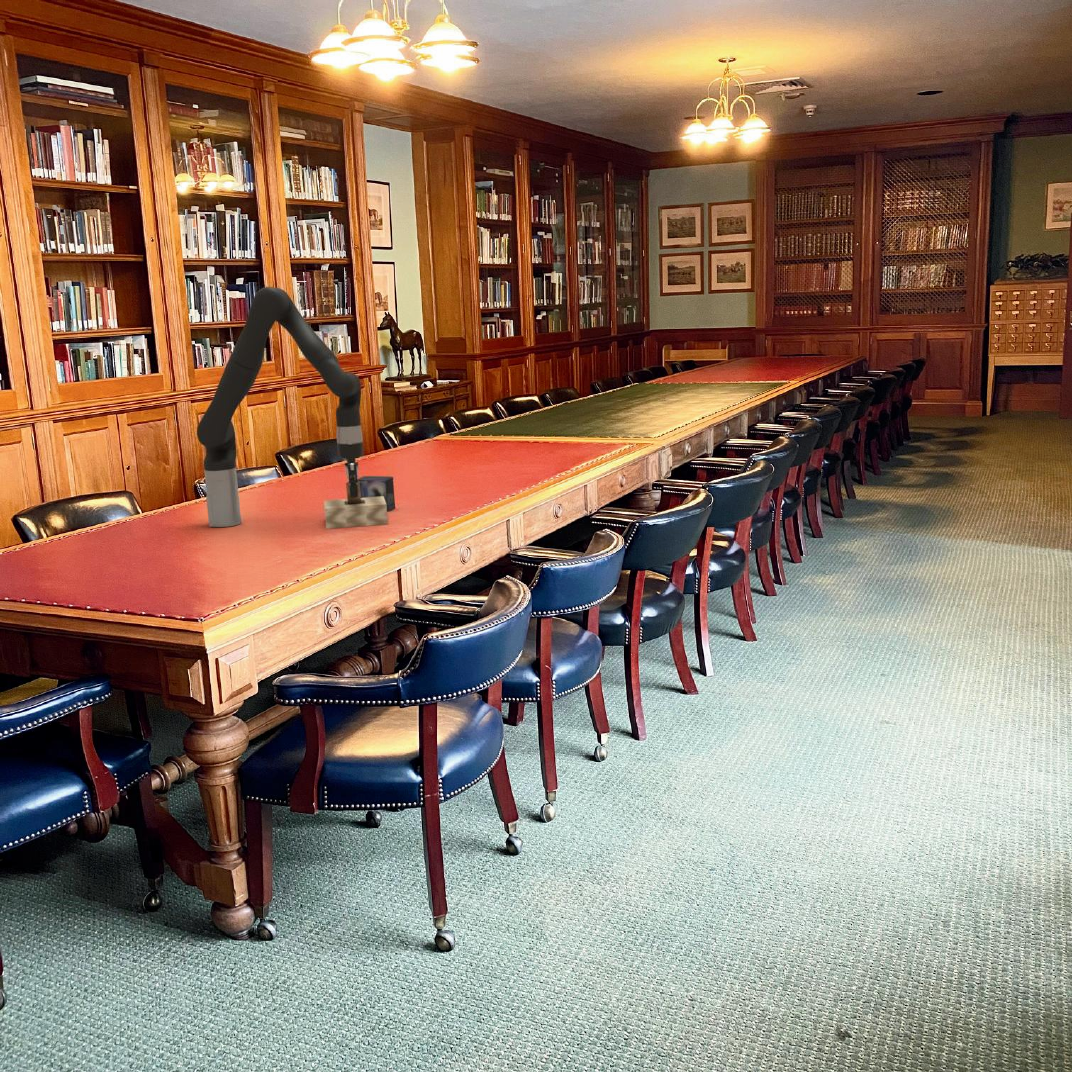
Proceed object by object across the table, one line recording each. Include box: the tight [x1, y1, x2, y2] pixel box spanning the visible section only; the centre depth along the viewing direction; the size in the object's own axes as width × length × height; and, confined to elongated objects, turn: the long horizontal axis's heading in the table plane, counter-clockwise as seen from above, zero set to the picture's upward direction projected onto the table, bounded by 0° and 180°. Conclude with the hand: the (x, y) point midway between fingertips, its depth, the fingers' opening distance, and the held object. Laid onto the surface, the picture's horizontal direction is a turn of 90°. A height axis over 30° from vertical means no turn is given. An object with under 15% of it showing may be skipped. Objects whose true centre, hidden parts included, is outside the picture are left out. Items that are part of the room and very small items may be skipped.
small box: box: [357, 475, 396, 513], centre depth 336 cm, size 11×6×10 cm, turn 73°
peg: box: [345, 481, 362, 505], centre depth 318 cm, size 4×4×12 cm
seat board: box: [323, 496, 389, 530], centre depth 319 cm, size 18×14×6 cm
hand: (353, 494), depth 318 cm, fingers open, 8 cm apart
